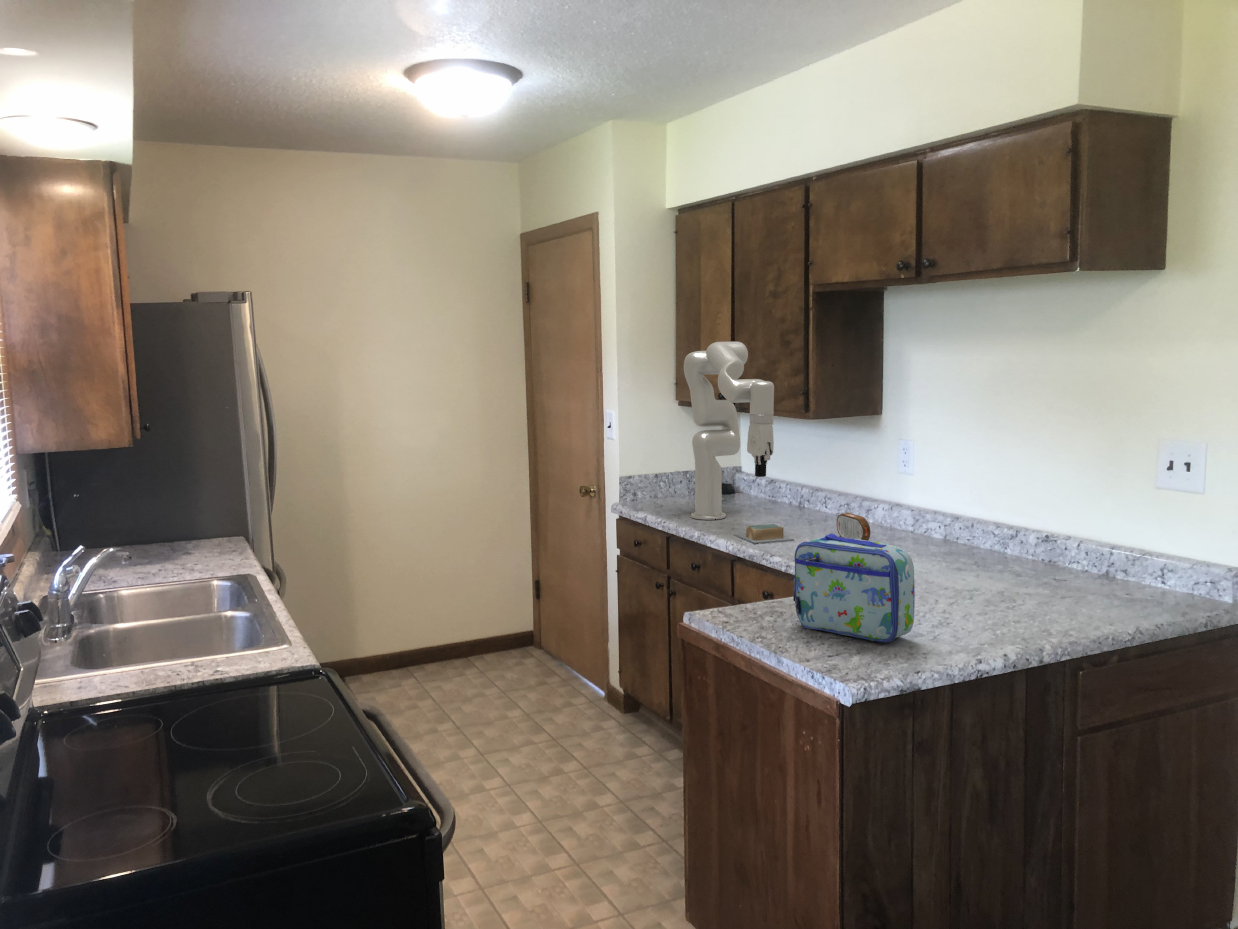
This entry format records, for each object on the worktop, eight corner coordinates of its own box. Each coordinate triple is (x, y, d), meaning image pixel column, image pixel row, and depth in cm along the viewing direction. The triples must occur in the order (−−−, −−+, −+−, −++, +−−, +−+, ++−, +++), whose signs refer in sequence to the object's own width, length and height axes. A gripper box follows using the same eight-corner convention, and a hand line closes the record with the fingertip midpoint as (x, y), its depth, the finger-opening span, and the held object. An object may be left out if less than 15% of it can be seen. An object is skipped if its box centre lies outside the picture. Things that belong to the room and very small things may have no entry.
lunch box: (786, 626, 214) (787, 534, 212) (814, 616, 222) (815, 527, 219) (891, 651, 196) (894, 551, 193) (917, 639, 203) (920, 543, 201)
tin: (871, 544, 298) (871, 518, 297) (862, 545, 297) (863, 518, 296) (842, 535, 312) (843, 510, 311) (834, 536, 311) (834, 511, 309)
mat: (733, 535, 315) (733, 533, 315) (771, 531, 319) (771, 530, 319) (754, 544, 301) (754, 542, 301) (794, 540, 305) (794, 538, 305)
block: (746, 526, 309) (755, 529, 303) (773, 523, 312) (783, 527, 306) (746, 536, 309) (755, 540, 303) (773, 534, 313) (783, 538, 306)
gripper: (740, 418, 312) (739, 473, 315) (761, 422, 298) (760, 480, 301) (761, 417, 315) (760, 472, 318) (783, 421, 301) (782, 479, 304)
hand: (760, 476), depth 309 cm, fingers closed
